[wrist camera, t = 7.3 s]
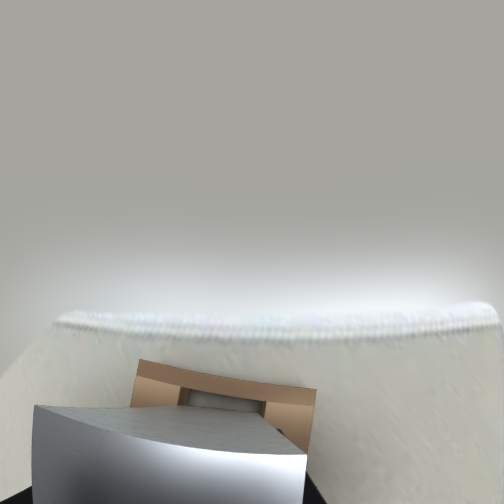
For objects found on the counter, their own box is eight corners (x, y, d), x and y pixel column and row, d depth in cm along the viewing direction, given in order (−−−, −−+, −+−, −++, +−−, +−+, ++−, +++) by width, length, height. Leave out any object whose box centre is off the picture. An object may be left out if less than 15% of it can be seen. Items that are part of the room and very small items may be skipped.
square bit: (251, 476, 12) (278, 638, 1) (180, 468, 13) (47, 587, 1) (256, 412, 14) (307, 455, 3) (185, 404, 14) (33, 404, 3)
